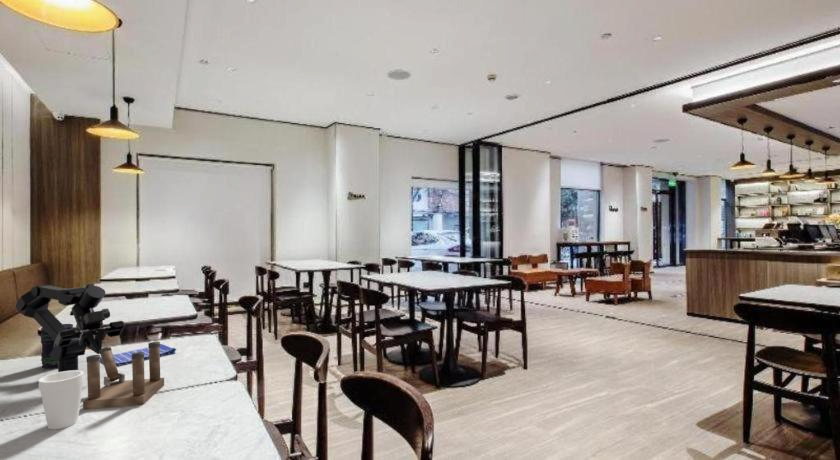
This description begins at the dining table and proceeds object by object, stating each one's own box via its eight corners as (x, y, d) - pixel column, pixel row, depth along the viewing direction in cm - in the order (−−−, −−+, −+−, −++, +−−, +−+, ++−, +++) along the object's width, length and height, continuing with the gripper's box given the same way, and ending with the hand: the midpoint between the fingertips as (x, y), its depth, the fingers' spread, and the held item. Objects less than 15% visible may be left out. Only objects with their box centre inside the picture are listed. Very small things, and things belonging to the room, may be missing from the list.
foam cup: (93, 418, 121) (91, 372, 121) (55, 434, 113) (54, 384, 112) (69, 414, 124) (68, 368, 124) (31, 429, 116) (30, 380, 115)
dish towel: (178, 354, 183) (177, 347, 183) (111, 369, 165) (110, 362, 165) (161, 347, 194) (161, 341, 194) (97, 361, 176) (97, 354, 176)
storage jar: (72, 359, 177) (71, 322, 177) (76, 364, 170) (75, 326, 170) (39, 365, 170) (38, 327, 169) (42, 371, 163) (41, 331, 163)
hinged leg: (106, 383, 141) (97, 352, 145) (118, 379, 144) (108, 350, 147) (110, 378, 140) (100, 347, 143) (121, 375, 142) (112, 345, 146)
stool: (80, 409, 127) (78, 359, 127) (109, 388, 144) (108, 343, 144) (143, 404, 131) (142, 354, 130) (165, 384, 147) (164, 340, 147)
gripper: (57, 306, 143) (71, 345, 137) (122, 298, 158) (137, 332, 152) (50, 328, 147) (63, 366, 141) (113, 317, 163) (127, 351, 157)
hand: (99, 353), depth 148 cm, fingers closed
